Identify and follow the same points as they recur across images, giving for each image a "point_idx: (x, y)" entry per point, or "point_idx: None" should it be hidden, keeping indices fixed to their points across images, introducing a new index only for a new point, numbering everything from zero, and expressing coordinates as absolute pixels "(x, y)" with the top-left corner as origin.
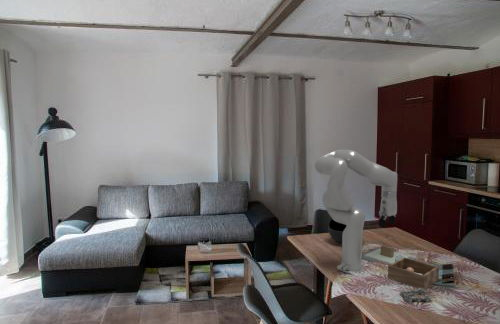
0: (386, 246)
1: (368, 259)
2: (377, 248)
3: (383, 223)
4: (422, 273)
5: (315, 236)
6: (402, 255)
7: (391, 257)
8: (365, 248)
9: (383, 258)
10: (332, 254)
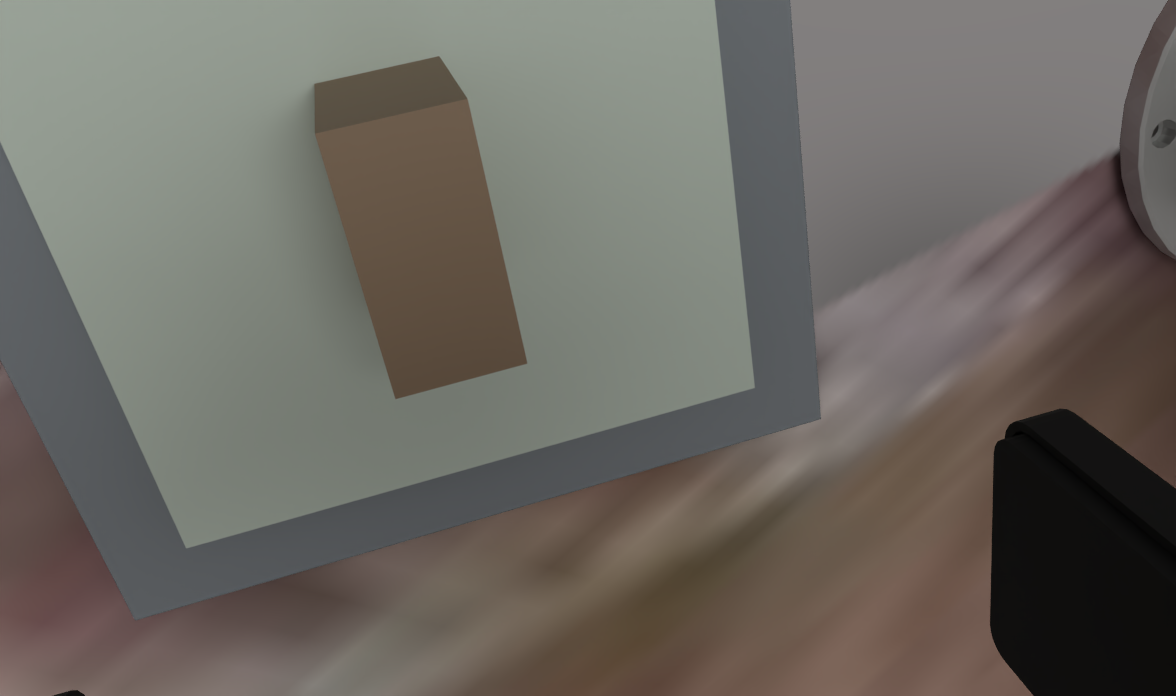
0: (429, 281)
1: (793, 250)
2: (179, 602)
3: None
4: None
5: None
6: (38, 32)
7: (415, 61)
8: (354, 682)
9: (611, 104)
10: (986, 617)
